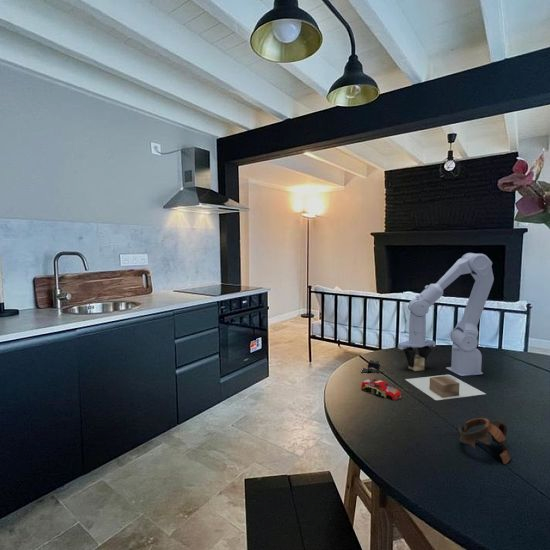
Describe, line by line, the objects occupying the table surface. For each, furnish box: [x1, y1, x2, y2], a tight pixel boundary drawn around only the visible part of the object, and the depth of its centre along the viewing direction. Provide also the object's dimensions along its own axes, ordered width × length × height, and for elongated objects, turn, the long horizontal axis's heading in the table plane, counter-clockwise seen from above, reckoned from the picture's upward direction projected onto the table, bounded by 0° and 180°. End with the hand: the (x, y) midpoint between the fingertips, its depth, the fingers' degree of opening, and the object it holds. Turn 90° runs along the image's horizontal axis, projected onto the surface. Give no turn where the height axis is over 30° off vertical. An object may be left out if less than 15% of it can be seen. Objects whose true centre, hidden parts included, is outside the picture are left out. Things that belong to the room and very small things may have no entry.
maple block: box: [407, 354, 426, 372], centre depth 126 cm, size 4×4×5 cm
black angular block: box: [360, 359, 386, 374], centre depth 124 cm, size 12×7×5 cm, turn 65°
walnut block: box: [429, 375, 460, 398], centre depth 106 cm, size 6×6×4 cm
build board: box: [404, 374, 486, 401], centre depth 111 cm, size 18×16×1 cm
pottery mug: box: [458, 417, 512, 465], centre depth 78 cm, size 12×9×8 cm
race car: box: [361, 378, 403, 401], centre depth 107 cm, size 13×6×4 cm, turn 41°
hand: (416, 366), depth 126 cm, fingers closed on maple block, 4 cm apart
